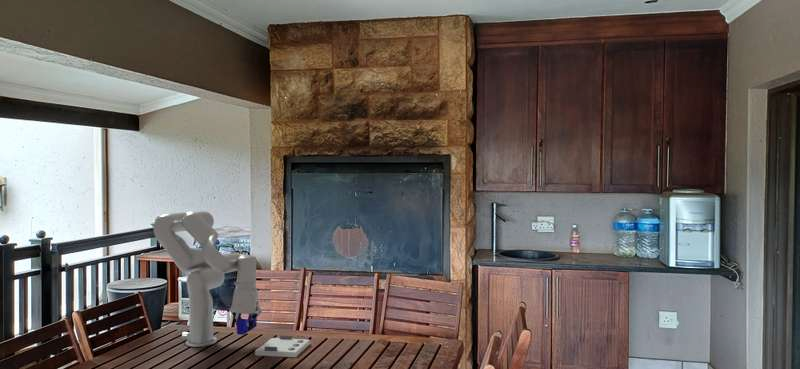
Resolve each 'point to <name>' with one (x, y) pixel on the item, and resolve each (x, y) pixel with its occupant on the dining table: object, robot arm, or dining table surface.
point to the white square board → (282, 347)
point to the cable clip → (244, 325)
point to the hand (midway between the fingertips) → (245, 328)
